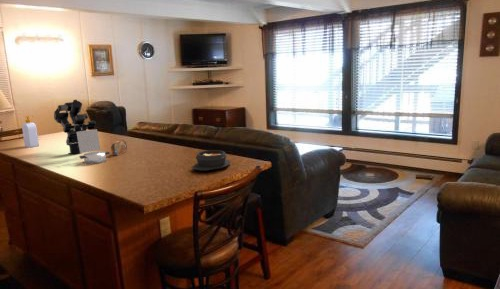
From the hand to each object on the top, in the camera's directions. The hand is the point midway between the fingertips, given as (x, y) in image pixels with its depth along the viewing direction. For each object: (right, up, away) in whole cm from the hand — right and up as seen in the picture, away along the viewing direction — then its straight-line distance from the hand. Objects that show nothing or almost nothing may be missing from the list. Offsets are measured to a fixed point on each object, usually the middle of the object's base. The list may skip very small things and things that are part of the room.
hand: (84, 136), depth 235 cm
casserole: (+82, -18, -29) cm, 89 cm away
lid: (+5, -3, -5) cm, 8 cm away
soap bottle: (-60, -6, +48) cm, 77 cm away
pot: (+10, -15, -8) cm, 20 cm away
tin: (+18, -11, +13) cm, 24 cm away
